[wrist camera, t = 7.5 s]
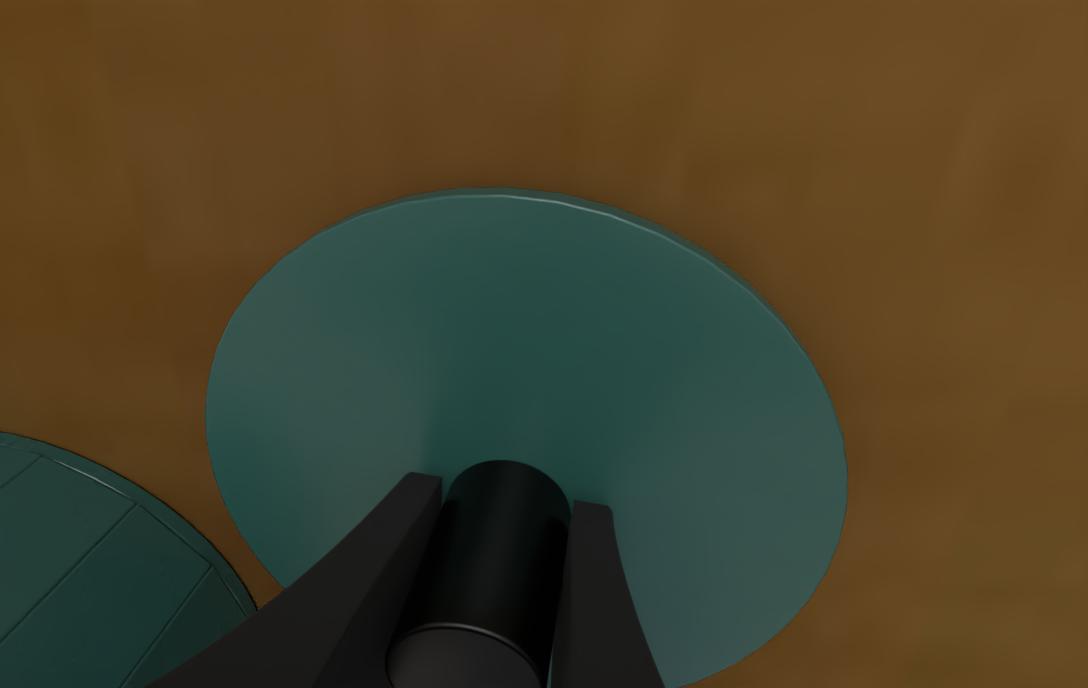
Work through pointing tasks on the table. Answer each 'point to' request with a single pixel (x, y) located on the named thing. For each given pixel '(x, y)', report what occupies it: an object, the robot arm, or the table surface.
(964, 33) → the table surface
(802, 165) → the table surface
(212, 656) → the robot arm
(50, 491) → the pot
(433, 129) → the table surface
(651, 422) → the lid
